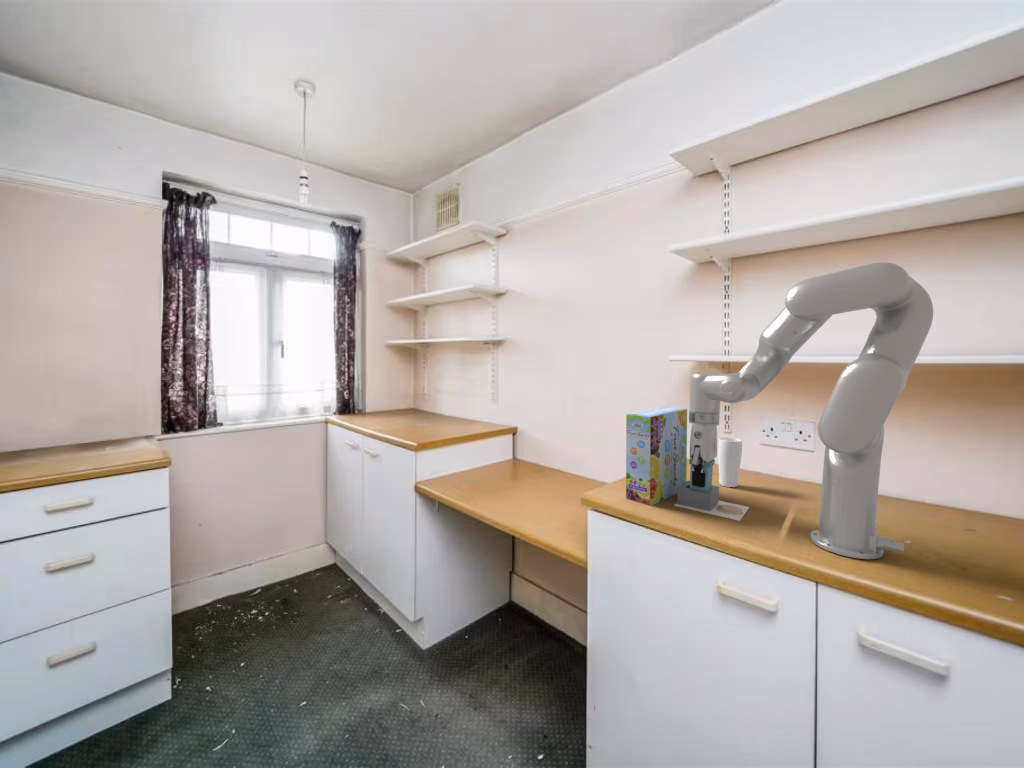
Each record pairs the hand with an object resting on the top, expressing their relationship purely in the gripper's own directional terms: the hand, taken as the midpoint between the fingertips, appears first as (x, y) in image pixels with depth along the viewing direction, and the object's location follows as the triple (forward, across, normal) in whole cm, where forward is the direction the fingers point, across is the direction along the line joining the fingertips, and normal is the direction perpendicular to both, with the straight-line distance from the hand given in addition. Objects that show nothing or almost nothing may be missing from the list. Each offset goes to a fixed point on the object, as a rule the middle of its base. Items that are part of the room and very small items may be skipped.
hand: (701, 483), depth 115 cm
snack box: (+7, +1, +12) cm, 14 cm away
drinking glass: (+7, +26, -2) cm, 27 cm away
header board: (+7, 0, -3) cm, 7 cm away
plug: (+5, 0, 0) cm, 5 cm away
